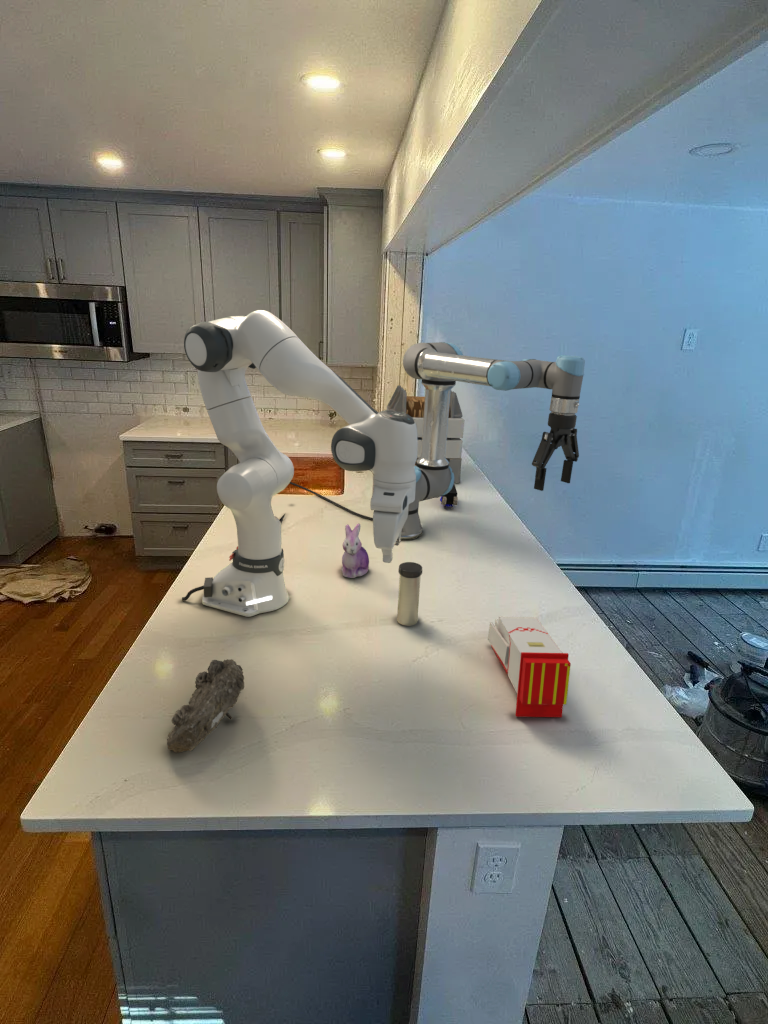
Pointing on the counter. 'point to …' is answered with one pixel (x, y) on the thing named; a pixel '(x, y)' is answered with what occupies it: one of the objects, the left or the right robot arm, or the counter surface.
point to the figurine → (354, 554)
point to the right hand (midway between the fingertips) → (552, 485)
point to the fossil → (206, 705)
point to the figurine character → (450, 498)
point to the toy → (531, 665)
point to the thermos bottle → (408, 600)
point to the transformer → (416, 411)
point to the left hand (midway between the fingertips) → (391, 552)
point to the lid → (410, 569)
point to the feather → (281, 518)
